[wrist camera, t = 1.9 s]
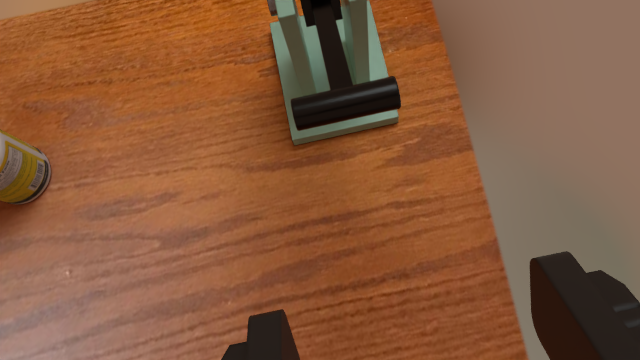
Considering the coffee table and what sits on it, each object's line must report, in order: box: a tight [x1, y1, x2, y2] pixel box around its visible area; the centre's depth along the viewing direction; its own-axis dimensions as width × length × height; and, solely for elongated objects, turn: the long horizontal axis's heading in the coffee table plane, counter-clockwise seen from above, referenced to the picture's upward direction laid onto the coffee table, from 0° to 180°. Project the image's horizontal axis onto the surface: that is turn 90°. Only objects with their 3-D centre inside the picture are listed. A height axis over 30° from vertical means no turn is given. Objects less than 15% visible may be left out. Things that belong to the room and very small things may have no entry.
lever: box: [291, 0, 401, 131], centre depth 30 cm, size 12×5×2 cm, turn 11°
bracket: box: [267, 0, 399, 145], centre depth 37 cm, size 10×8×13 cm
